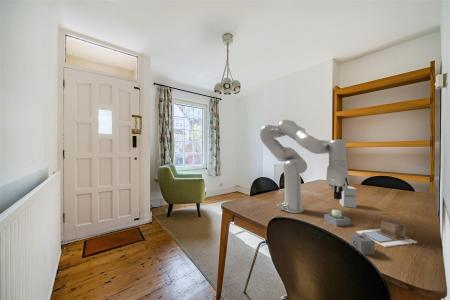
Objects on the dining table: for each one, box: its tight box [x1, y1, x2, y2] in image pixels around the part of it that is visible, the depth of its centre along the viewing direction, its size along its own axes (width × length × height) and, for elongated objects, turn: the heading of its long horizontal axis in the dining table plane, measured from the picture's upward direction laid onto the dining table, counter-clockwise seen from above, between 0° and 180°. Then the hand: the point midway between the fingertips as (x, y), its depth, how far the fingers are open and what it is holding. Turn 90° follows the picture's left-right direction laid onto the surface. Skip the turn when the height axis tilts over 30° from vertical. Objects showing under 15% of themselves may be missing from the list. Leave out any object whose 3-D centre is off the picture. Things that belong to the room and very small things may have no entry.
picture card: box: [355, 228, 418, 248], centre depth 74 cm, size 16×12×1 cm
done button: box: [331, 208, 343, 219], centre depth 89 cm, size 4×4×4 cm
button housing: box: [323, 213, 351, 227], centre depth 89 cm, size 8×8×3 cm
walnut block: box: [380, 219, 407, 239], centre depth 74 cm, size 6×6×6 cm
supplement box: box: [339, 185, 357, 209], centre depth 115 cm, size 7×7×13 cm
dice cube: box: [350, 233, 376, 255], centre depth 65 cm, size 5×5×5 cm
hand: (337, 198), depth 89 cm, fingers closed
